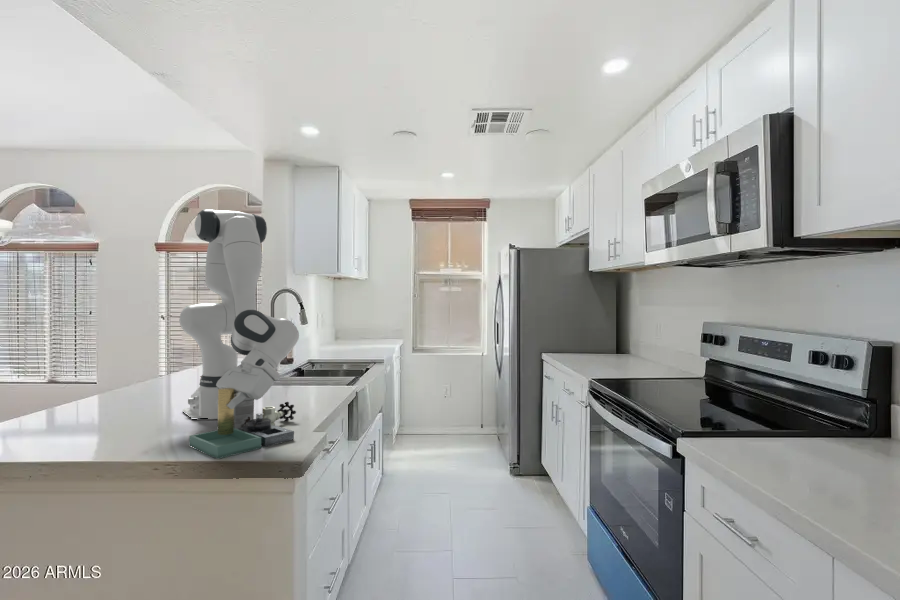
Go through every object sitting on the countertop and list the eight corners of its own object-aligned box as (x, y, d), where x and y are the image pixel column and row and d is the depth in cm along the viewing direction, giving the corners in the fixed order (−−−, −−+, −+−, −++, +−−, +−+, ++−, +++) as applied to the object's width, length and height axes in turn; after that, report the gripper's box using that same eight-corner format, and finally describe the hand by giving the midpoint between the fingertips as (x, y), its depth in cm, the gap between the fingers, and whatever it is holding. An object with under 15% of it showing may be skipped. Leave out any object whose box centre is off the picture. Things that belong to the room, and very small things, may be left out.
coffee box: (221, 428, 155) (221, 376, 155) (241, 424, 160) (242, 374, 160) (233, 433, 149) (234, 380, 149) (254, 429, 153) (255, 377, 153)
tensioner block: (237, 436, 145) (237, 414, 145) (265, 430, 152) (265, 409, 152) (265, 446, 136) (265, 423, 136) (293, 439, 143) (294, 417, 143)
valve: (273, 431, 152) (296, 422, 164) (273, 409, 152) (296, 402, 164) (255, 429, 154) (278, 420, 166) (255, 408, 154) (279, 400, 166)
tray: (189, 446, 135) (189, 435, 135) (231, 437, 144) (232, 427, 144) (217, 458, 125) (217, 447, 125) (261, 448, 134) (261, 437, 134)
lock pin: (214, 433, 134) (215, 389, 134) (229, 430, 137) (229, 387, 138) (221, 435, 132) (222, 390, 132) (236, 432, 135) (237, 388, 135)
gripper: (232, 357, 147) (198, 394, 139) (269, 362, 134) (234, 404, 126) (246, 370, 150) (213, 407, 142) (284, 377, 137) (250, 418, 130)
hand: (223, 406), depth 134 cm, fingers closed on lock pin, 4 cm apart
